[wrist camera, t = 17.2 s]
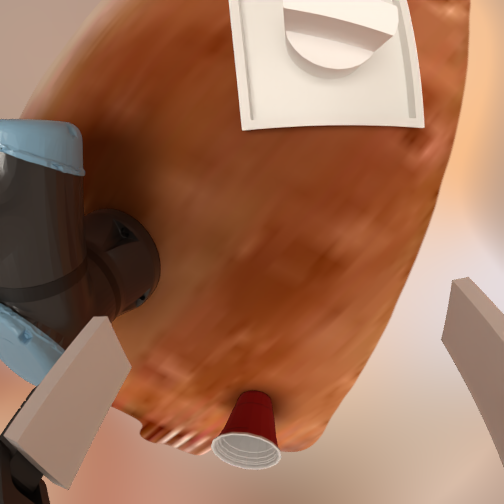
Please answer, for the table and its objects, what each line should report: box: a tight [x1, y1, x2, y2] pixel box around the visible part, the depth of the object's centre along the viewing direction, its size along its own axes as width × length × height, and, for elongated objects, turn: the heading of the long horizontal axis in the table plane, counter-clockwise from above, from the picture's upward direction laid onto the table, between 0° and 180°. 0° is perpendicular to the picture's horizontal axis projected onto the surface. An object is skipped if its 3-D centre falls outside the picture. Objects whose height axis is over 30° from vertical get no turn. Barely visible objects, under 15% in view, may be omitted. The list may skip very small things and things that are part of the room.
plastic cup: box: [211, 391, 281, 470], centre depth 44 cm, size 11×11×12 cm
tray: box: [229, 0, 424, 130], centre depth 27 cm, size 20×20×3 cm
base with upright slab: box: [283, 0, 399, 79], centre depth 22 cm, size 9×9×12 cm
